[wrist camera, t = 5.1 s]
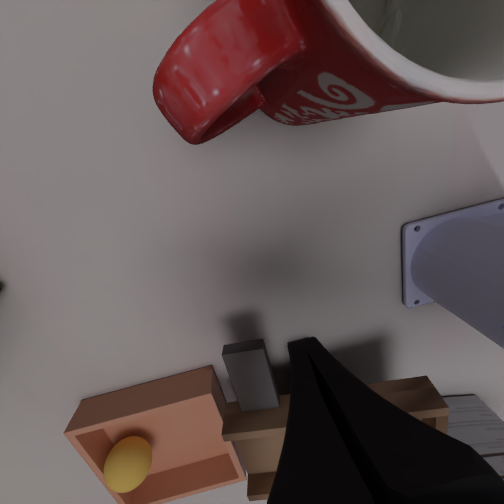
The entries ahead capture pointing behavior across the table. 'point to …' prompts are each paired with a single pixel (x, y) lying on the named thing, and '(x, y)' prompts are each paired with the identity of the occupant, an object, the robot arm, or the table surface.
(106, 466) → the ball
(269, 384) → the brown wooden tray
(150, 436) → the tray
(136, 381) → the table surface
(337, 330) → the table surface
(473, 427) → the supplement box
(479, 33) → the mug
